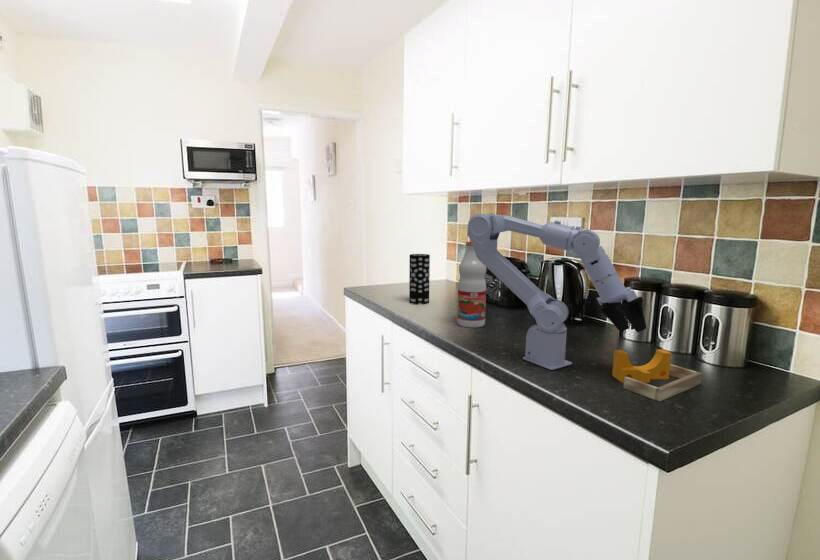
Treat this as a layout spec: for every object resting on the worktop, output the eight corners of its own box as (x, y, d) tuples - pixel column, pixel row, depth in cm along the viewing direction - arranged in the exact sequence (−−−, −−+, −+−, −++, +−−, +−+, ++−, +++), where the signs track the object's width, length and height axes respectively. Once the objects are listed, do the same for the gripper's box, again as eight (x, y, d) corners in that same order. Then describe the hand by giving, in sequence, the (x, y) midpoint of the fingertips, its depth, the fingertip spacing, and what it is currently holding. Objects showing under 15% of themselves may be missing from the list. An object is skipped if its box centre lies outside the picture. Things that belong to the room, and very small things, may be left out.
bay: (623, 388, 94) (624, 377, 93) (665, 372, 103) (666, 362, 102) (659, 401, 87) (660, 390, 87) (700, 383, 96) (702, 373, 96)
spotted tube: (428, 300, 183) (428, 253, 180) (430, 304, 175) (430, 256, 172) (408, 300, 183) (408, 253, 179) (410, 304, 174) (410, 256, 171)
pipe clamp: (621, 383, 97) (624, 356, 96) (612, 376, 101) (614, 350, 100) (673, 382, 97) (676, 355, 96) (661, 375, 101) (664, 349, 100)
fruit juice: (483, 321, 149) (486, 241, 145) (486, 328, 140) (489, 243, 135) (456, 320, 150) (458, 240, 145) (457, 327, 141) (459, 242, 136)
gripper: (635, 265, 93) (666, 322, 91) (605, 274, 107) (631, 323, 106) (607, 279, 92) (638, 336, 91) (580, 286, 107) (606, 335, 105)
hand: (633, 330), depth 98 cm, fingers open, 7 cm apart
